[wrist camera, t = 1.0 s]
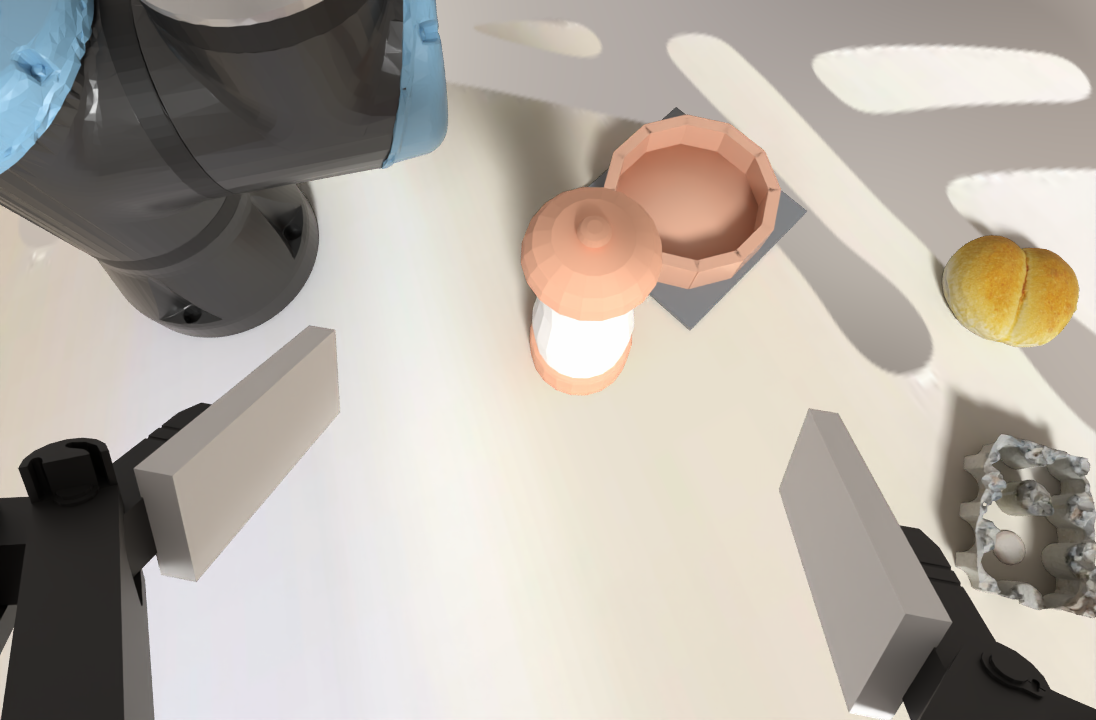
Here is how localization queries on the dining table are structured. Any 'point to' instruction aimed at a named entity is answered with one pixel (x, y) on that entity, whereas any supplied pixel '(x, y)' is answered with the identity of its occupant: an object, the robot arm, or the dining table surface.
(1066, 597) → the egg carton
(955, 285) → the bread roll
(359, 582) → the dining table surface
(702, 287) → the mat
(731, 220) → the dish
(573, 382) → the pepper shaker
